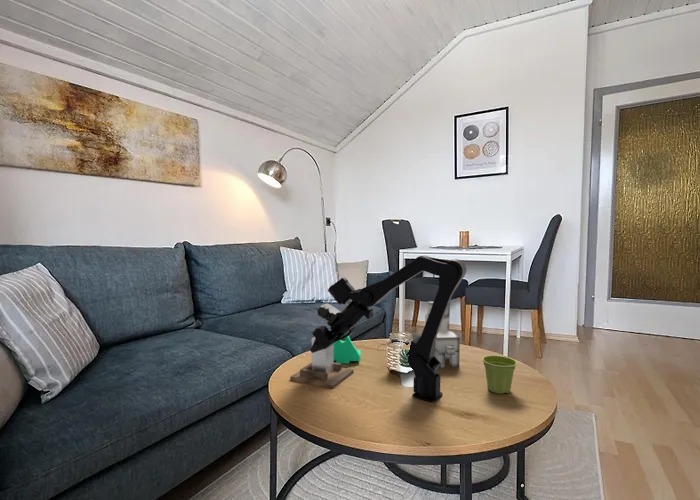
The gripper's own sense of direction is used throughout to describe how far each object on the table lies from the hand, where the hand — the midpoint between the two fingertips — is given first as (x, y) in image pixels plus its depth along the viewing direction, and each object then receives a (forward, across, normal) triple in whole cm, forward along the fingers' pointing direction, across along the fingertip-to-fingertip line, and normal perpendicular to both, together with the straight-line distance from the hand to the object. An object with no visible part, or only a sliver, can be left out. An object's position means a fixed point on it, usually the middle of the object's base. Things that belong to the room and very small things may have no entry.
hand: (318, 347), depth 122 cm
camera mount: (+7, -17, +7) cm, 19 cm away
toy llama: (-16, -31, +29) cm, 46 cm away
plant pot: (-30, -13, +44) cm, 55 cm away
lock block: (+5, 0, +7) cm, 8 cm away
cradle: (+5, 0, +7) cm, 9 cm away
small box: (-10, -18, +23) cm, 31 cm away
